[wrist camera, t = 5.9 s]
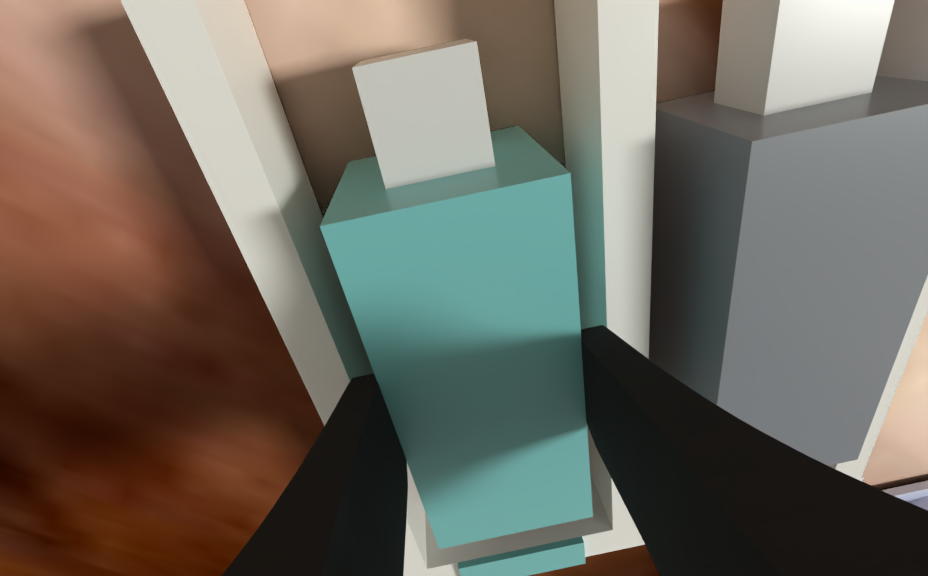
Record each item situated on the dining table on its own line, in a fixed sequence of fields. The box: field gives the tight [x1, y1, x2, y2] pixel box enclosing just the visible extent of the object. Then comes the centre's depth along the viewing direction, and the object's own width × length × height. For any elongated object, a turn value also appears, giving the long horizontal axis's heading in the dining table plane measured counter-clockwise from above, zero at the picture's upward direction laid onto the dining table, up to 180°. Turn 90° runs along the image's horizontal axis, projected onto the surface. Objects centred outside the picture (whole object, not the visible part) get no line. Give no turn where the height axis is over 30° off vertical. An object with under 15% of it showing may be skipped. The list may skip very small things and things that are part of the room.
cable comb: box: [121, 0, 928, 576], centre depth 12 cm, size 17×15×3 cm
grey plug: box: [649, 0, 928, 466], centre depth 11 cm, size 13×4×4 cm, turn 11°
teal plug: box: [320, 39, 593, 549], centre depth 11 cm, size 13×4×4 cm, turn 10°
